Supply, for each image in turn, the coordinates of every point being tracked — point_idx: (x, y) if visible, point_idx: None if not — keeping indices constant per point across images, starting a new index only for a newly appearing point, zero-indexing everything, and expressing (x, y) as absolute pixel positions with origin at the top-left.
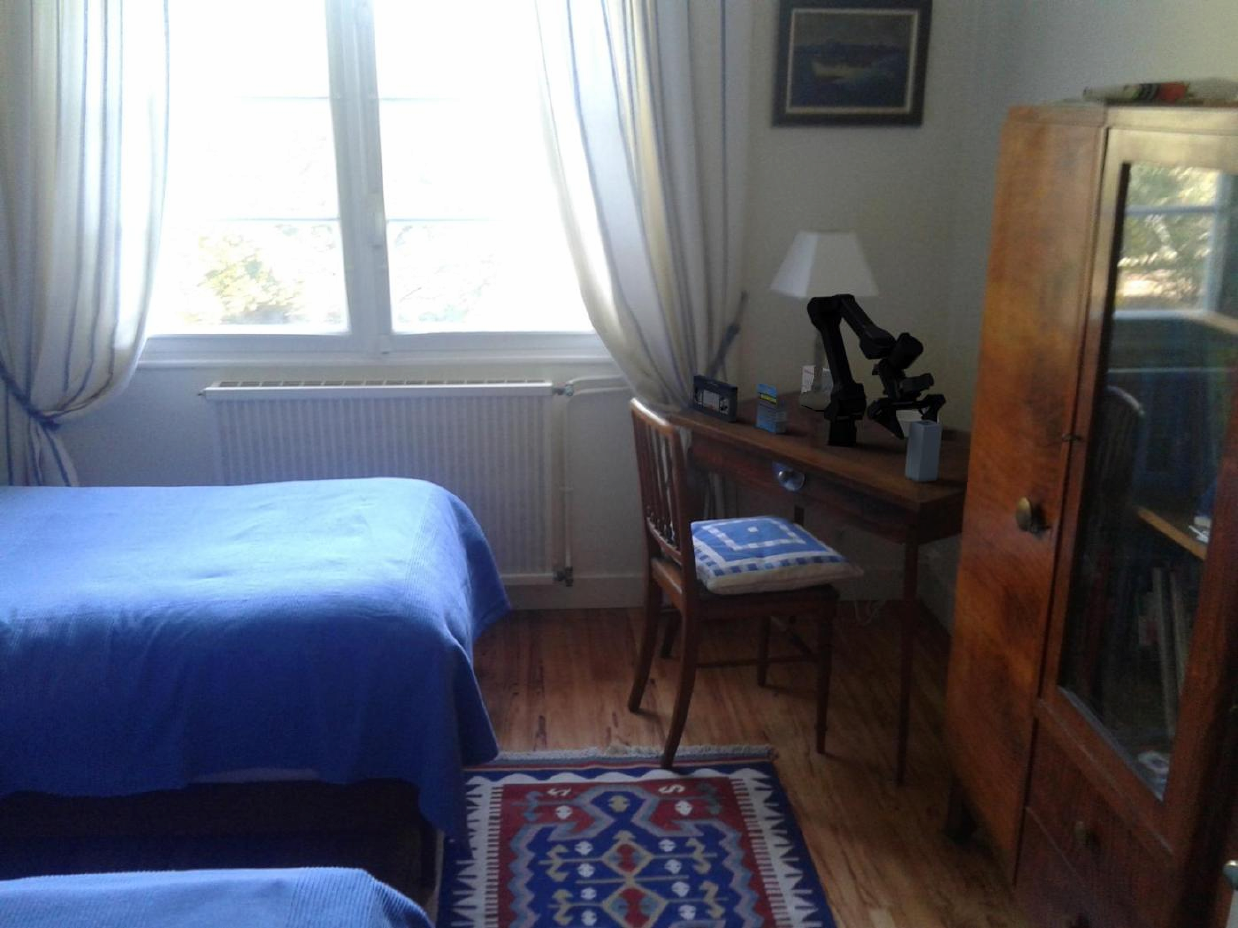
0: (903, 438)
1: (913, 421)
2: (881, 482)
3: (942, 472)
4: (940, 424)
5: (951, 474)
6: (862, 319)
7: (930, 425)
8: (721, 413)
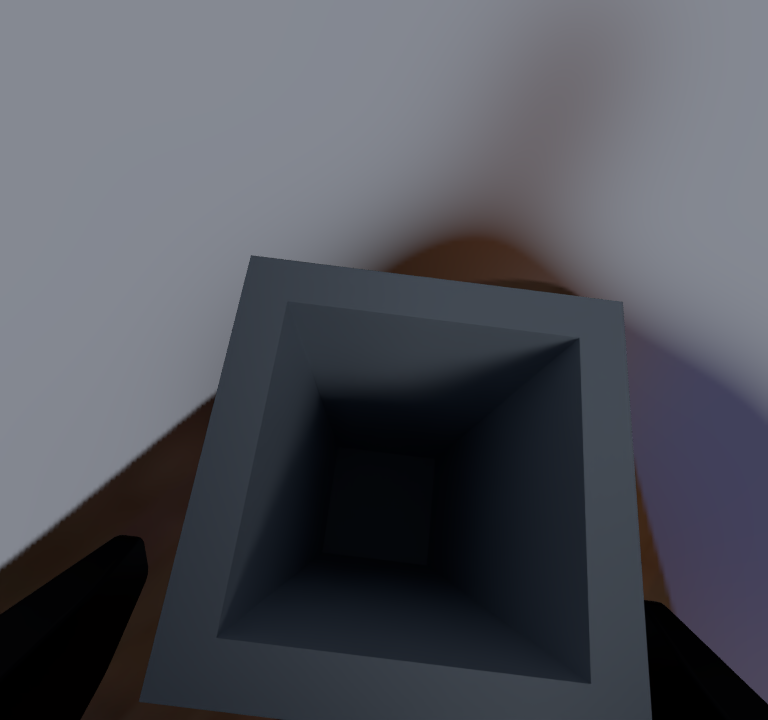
0: (649, 602)
1: (592, 705)
2: (648, 542)
3: (157, 543)
4: (260, 282)
5: (147, 484)
6: None
7: (469, 308)
8: None
